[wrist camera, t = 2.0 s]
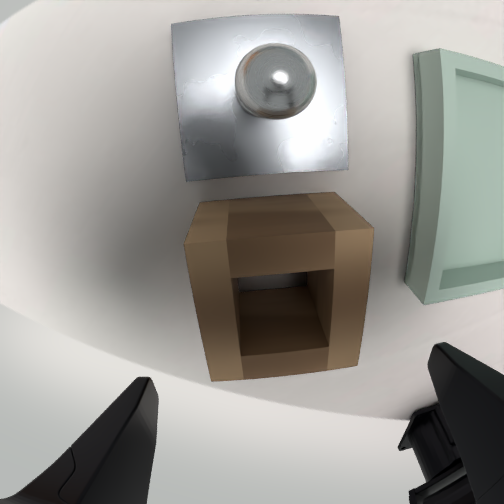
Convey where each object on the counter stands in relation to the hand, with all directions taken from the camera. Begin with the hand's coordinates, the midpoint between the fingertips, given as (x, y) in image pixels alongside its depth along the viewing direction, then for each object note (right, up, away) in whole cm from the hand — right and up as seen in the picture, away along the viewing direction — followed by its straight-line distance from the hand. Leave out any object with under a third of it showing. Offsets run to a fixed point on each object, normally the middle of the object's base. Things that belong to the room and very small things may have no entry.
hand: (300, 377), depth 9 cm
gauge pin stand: (-1, +11, +4) cm, 11 cm away
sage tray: (+13, +8, +6) cm, 17 cm away
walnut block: (0, +3, +7) cm, 8 cm away
